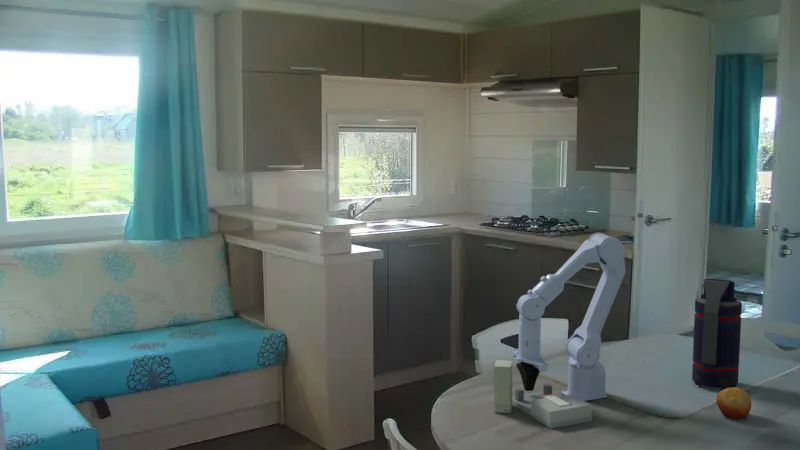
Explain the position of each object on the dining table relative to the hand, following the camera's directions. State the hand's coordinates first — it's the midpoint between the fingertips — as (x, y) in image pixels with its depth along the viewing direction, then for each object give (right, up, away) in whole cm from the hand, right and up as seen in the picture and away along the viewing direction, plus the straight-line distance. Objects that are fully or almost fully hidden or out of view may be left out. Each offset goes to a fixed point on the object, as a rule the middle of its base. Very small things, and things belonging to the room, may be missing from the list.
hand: (528, 390), depth 209 cm
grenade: (+53, -1, +9) cm, 53 cm away
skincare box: (-8, -4, -7) cm, 11 cm away
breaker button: (+5, -3, -12) cm, 13 cm away
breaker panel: (+3, -3, -8) cm, 9 cm away
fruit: (+49, -4, -13) cm, 51 cm away
